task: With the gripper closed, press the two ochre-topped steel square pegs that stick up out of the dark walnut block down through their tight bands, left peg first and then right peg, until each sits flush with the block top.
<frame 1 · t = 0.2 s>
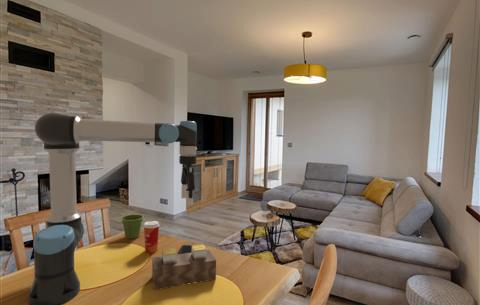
hand: (187, 201, 124), 28 cm above the table, tool pointing down, fingers open, 13 cm apart
peg left: (169, 259, 107), point 8 cm above the table, slide at 0.0 cm
peg right: (198, 255, 111), point 8 cm above the table, slide at 0.0 cm
paper cup: (151, 250, 135), on the table
walnut block: (183, 277, 110), on the table
phone: (186, 254, 133), on the table
plant pot: (132, 237, 152), on the table
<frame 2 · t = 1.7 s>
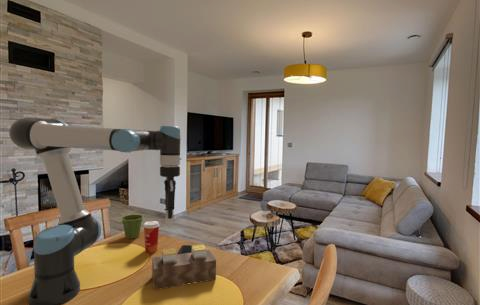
hand: (169, 225, 106), 22 cm above the table, tool pointing down, fingers closed
nothing on the table moved.
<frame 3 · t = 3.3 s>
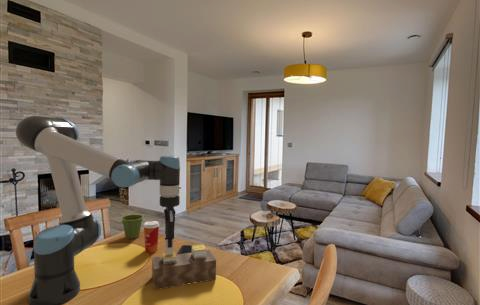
hand: (169, 254, 107), 11 cm above the table, tool pointing down, fingers closed
peg left: (168, 263, 107), point 7 cm above the table, slide at 1.5 cm, touching gripper
everything else where it was.
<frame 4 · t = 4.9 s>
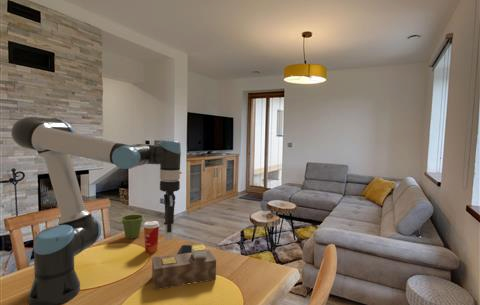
hand: (168, 239, 107), 17 cm above the table, tool pointing down, fingers closed
peg left: (168, 269, 107), point 5 cm above the table, slide at 3.8 cm
everything else where it was.
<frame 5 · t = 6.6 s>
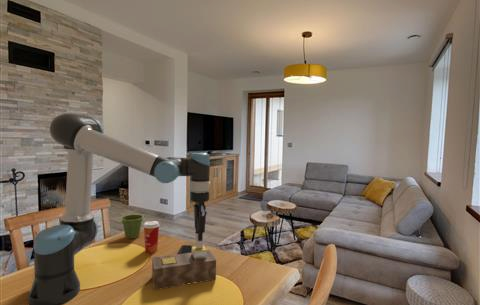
hand: (199, 247, 111), 12 cm above the table, tool pointing down, fingers closed
peg right: (198, 256, 111), point 8 cm above the table, slide at 0.3 cm, touching gripper
everything else where it was.
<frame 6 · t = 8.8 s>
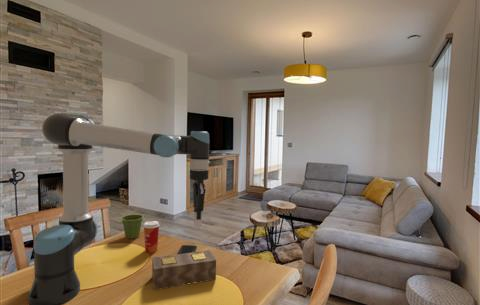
hand: (197, 226, 111), 21 cm above the table, tool pointing down, fingers closed
peg right: (198, 264, 112), point 5 cm above the table, slide at 3.8 cm
everything else where it was.
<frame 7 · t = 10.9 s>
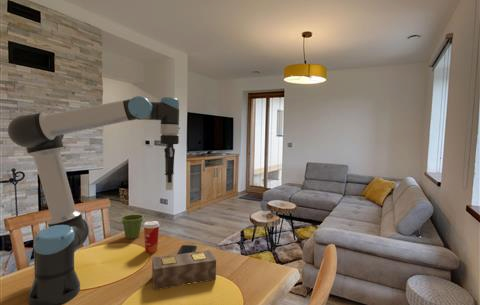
hand: (169, 189, 116), 34 cm above the table, tool pointing down, fingers closed
nothing on the table moved.
at the end: peg left slide at 3.8 cm; peg right slide at 3.8 cm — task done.
